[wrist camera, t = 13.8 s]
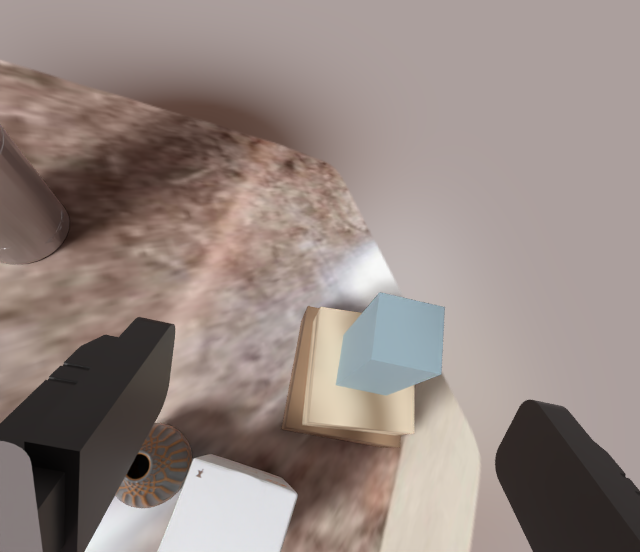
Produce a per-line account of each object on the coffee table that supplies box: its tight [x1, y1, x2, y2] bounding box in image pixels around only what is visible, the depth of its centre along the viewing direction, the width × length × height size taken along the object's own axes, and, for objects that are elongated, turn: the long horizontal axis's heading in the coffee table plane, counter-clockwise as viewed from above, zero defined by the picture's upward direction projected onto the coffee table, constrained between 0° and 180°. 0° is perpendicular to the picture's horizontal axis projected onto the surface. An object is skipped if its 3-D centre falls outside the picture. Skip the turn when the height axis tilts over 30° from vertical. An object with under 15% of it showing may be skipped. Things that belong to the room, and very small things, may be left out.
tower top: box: [302, 307, 414, 435], centre depth 38 cm, size 9×10×5 cm
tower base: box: [281, 306, 401, 448], centre depth 43 cm, size 11×12×6 cm
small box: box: [158, 454, 298, 552], centre depth 34 cm, size 8×6×13 cm
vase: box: [115, 423, 192, 508], centre depth 36 cm, size 7×7×9 cm
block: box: [336, 292, 445, 396], centre depth 31 cm, size 4×4×11 cm
